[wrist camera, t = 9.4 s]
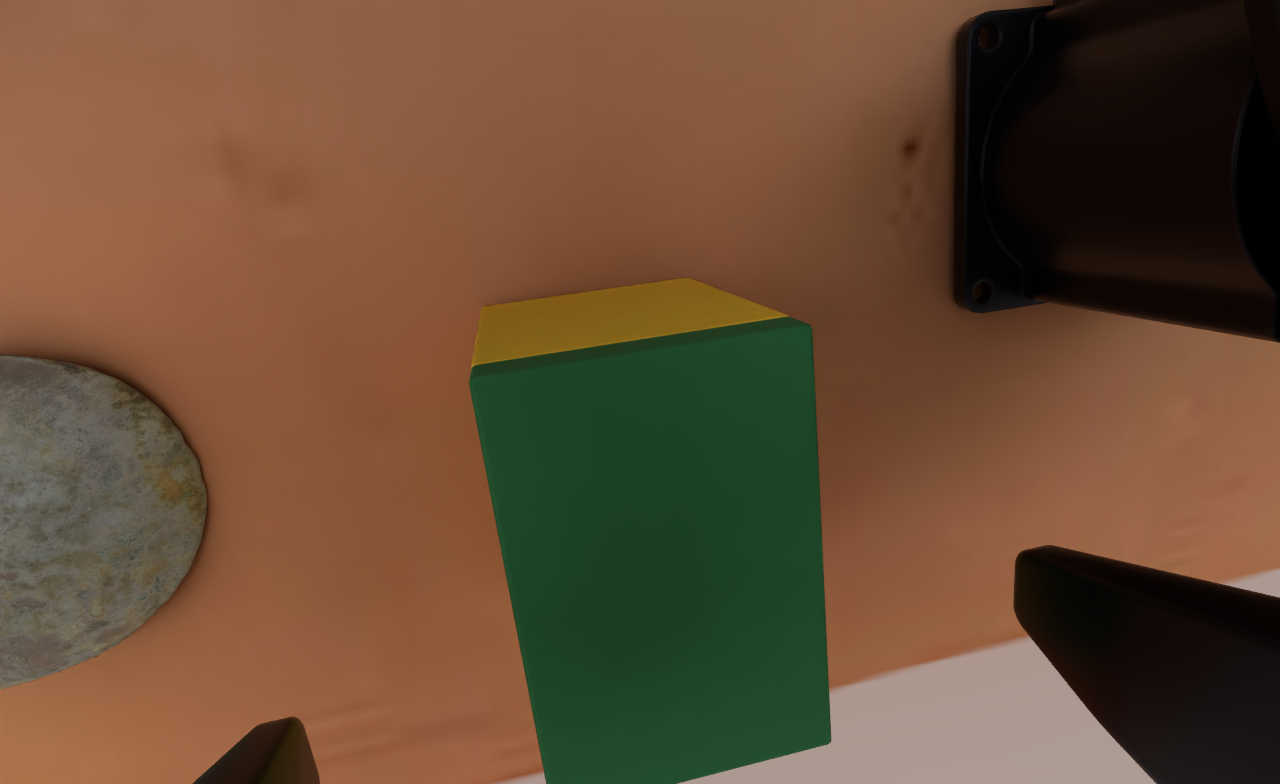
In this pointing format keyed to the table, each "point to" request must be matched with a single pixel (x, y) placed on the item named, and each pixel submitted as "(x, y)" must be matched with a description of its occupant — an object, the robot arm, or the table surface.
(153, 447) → the soupspoon
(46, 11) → the table surface
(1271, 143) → the robot arm
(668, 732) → the sponge
